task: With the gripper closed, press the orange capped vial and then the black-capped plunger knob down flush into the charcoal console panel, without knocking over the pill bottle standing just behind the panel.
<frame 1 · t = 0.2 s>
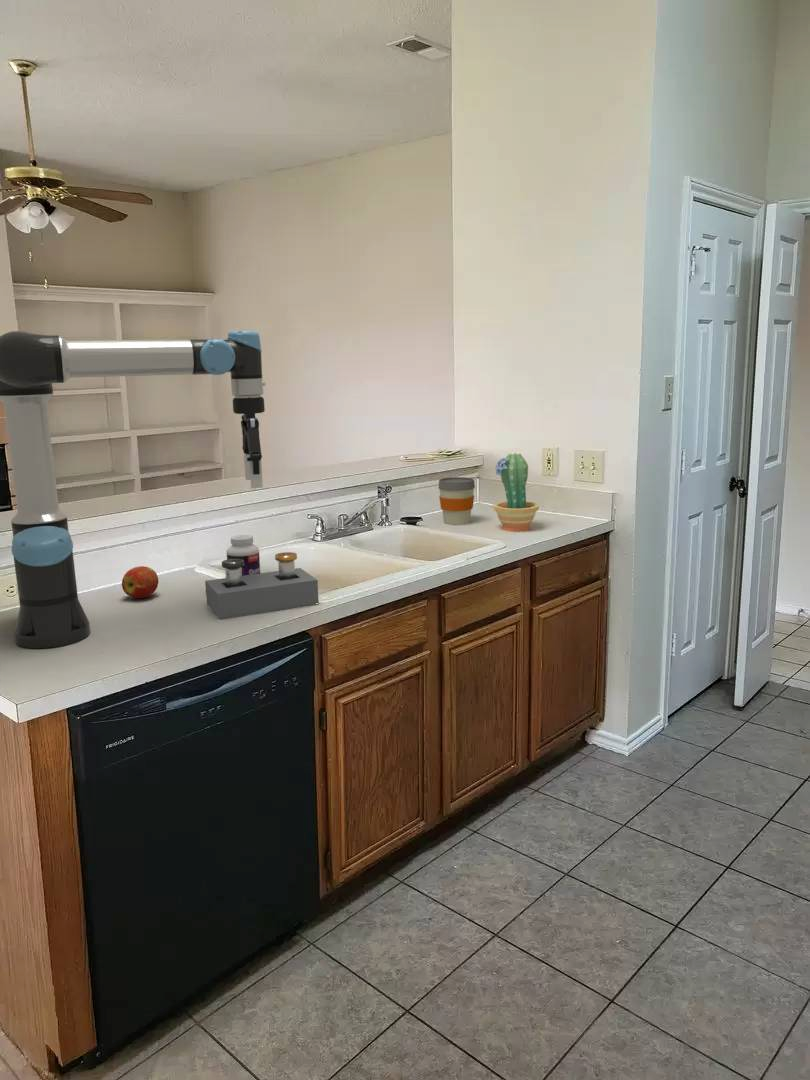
hand: (253, 483, 208), 28 cm above the worktop, fingers open, 13 cm apart
apple: (142, 598, 212), on the worktop
potted cactus: (515, 529, 281), on the worktop
pill bottle: (245, 593, 214), on the worktop
knob left: (233, 576, 199), point 8 cm above the worktop, slide at 0.0 cm
console: (262, 604, 203), on the worktop
reusable coffee cup: (456, 523, 293), on the worktop
orange capped vial: (286, 569, 204), point 8 cm above the worktop, slide at 0.0 cm
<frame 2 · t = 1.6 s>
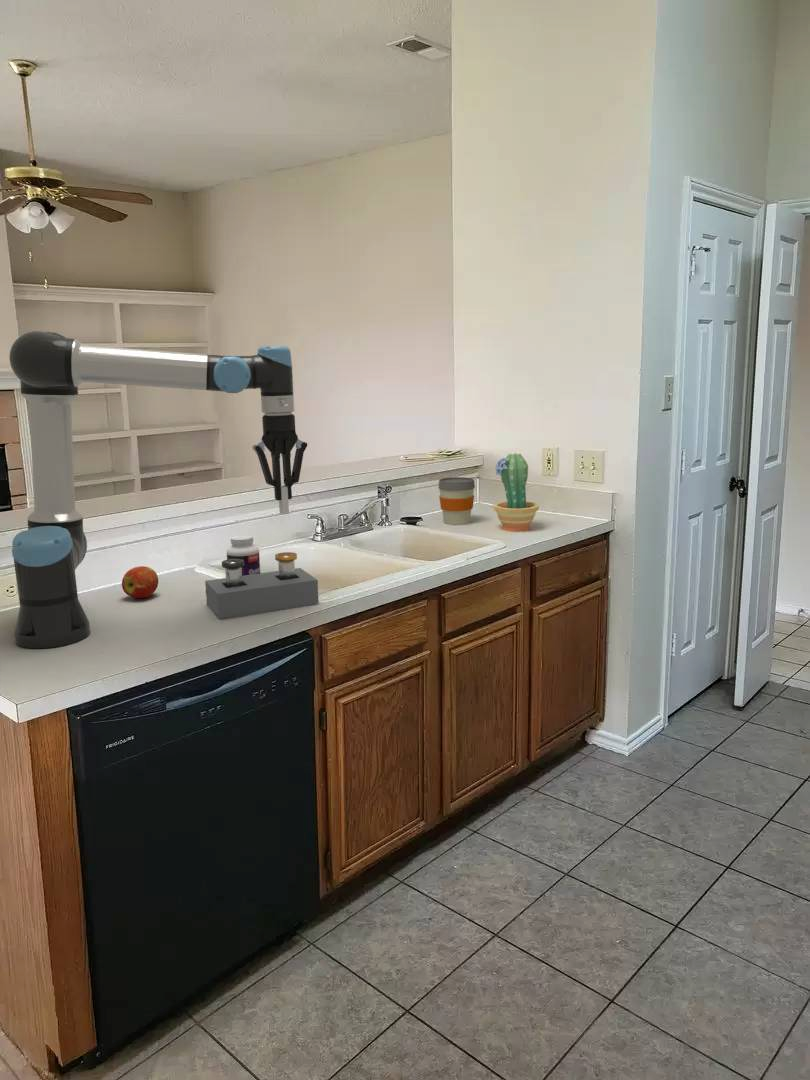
hand: (284, 513, 201), 22 cm above the worktop, fingers closed
nothing on the worktop moved.
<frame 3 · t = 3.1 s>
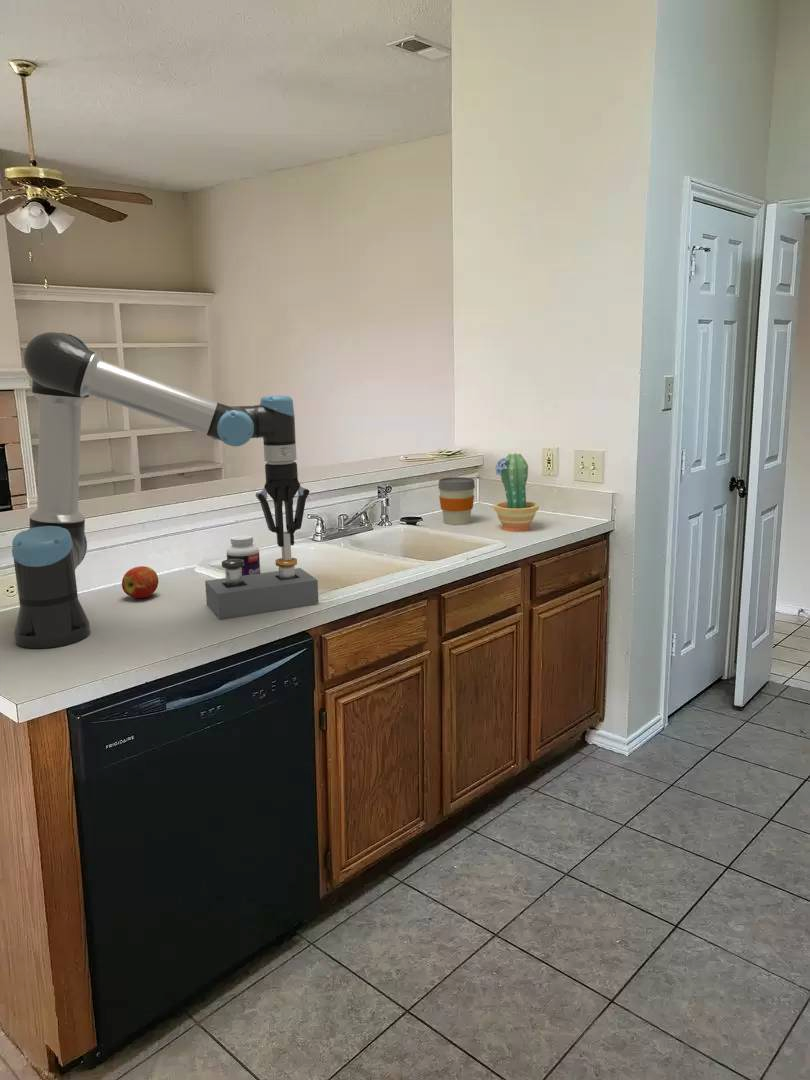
hand: (286, 558, 204), 10 cm above the worktop, fingers closed
orange capped vial: (287, 575, 205), point 6 cm above the worktop, slide at 1.3 cm, touching gripper
everything else where it was.
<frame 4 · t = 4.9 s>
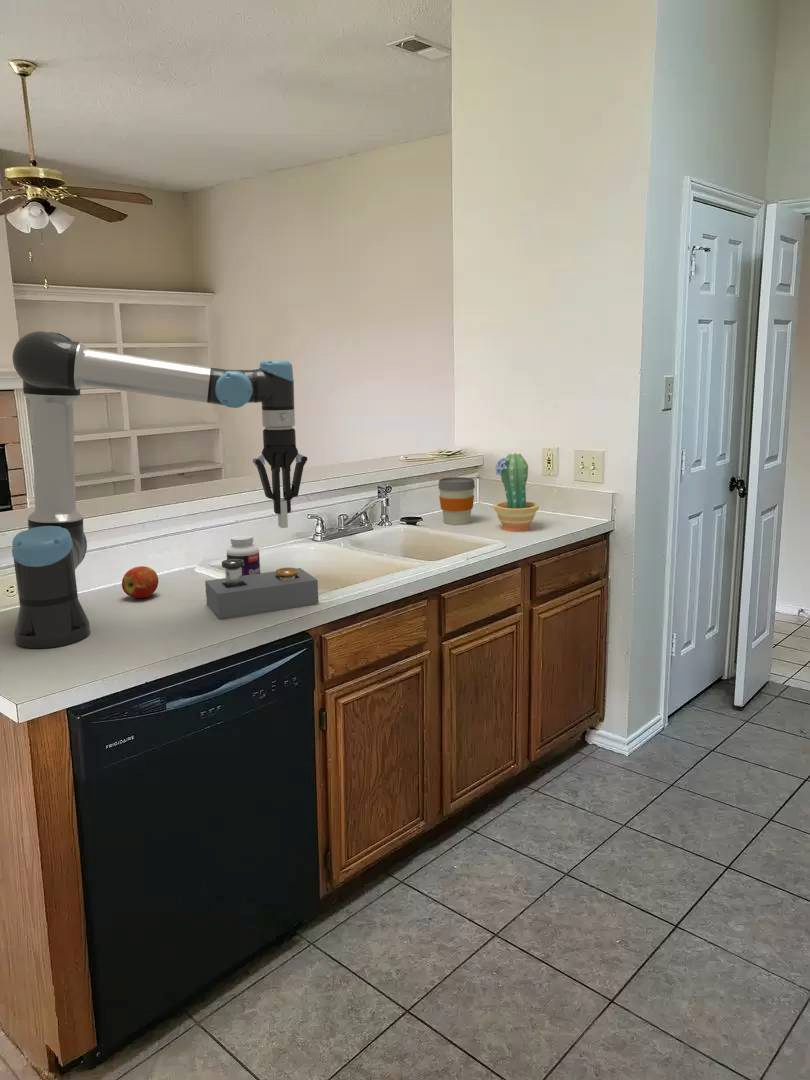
hand: (283, 526, 202), 18 cm above the worktop, fingers closed
orange capped vial: (287, 585, 205), point 4 cm above the worktop, slide at 3.9 cm
everything else where it was.
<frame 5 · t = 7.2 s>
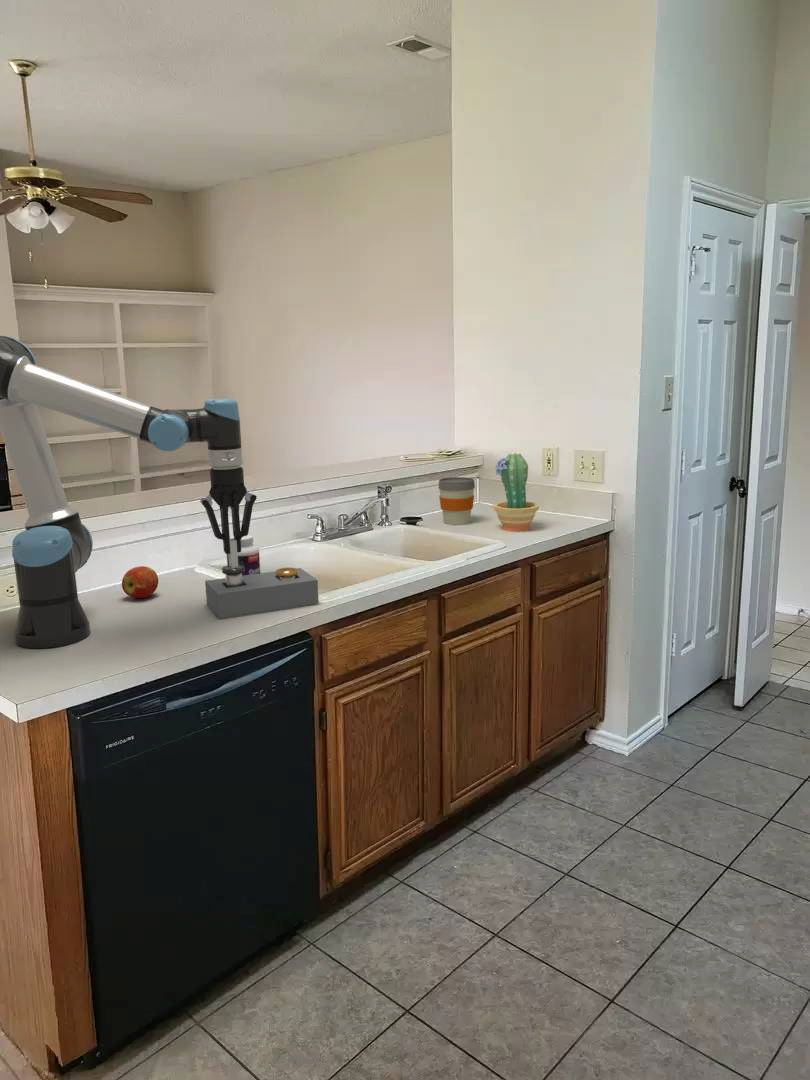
hand: (233, 566, 198), 10 cm above the worktop, fingers closed
knob left: (234, 582, 199), point 6 cm above the worktop, slide at 1.5 cm, touching gripper
everything else where it was.
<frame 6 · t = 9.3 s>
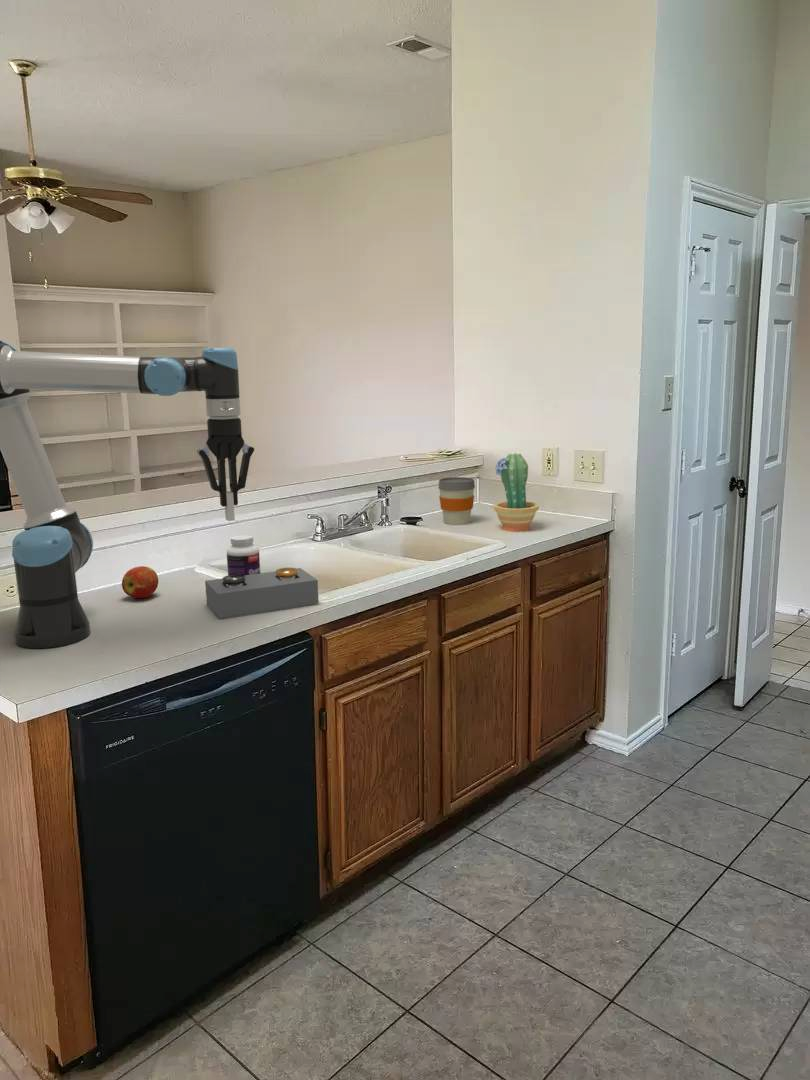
hand: (230, 519, 196), 22 cm above the worktop, fingers closed
knob left: (234, 592, 200), point 4 cm above the worktop, slide at 3.9 cm
everything else where it was.
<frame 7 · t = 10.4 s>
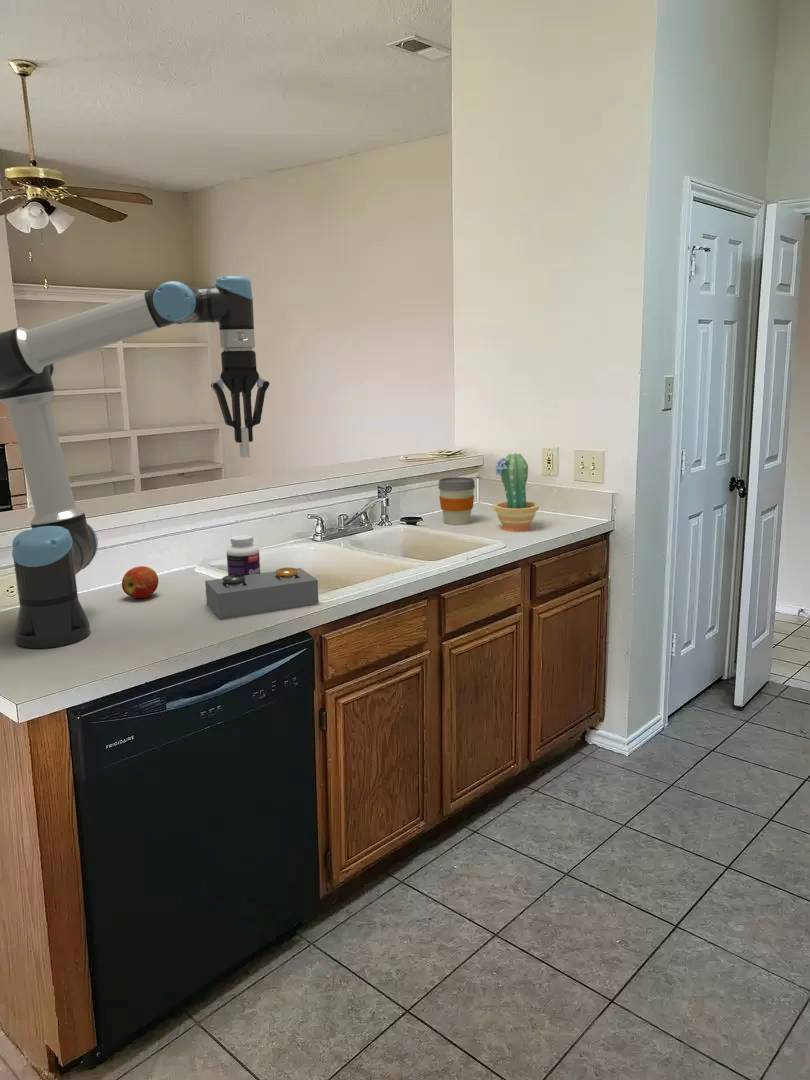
hand: (245, 456, 190), 36 cm above the worktop, fingers closed
nothing on the worktop moved.
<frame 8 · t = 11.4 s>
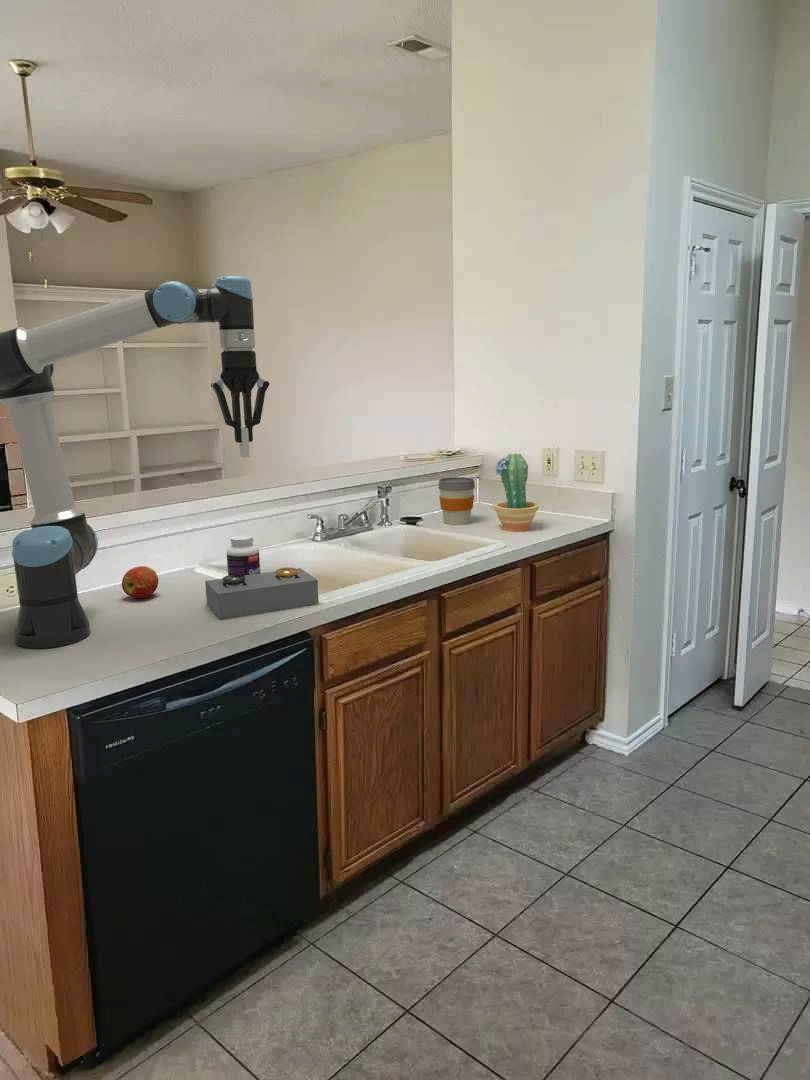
hand: (245, 456, 190), 36 cm above the worktop, fingers closed
nothing on the worktop moved.
at the end: orange capped vial slide at 3.9 cm; knob left slide at 3.9 cm; pill bottle tilted 0° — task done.
